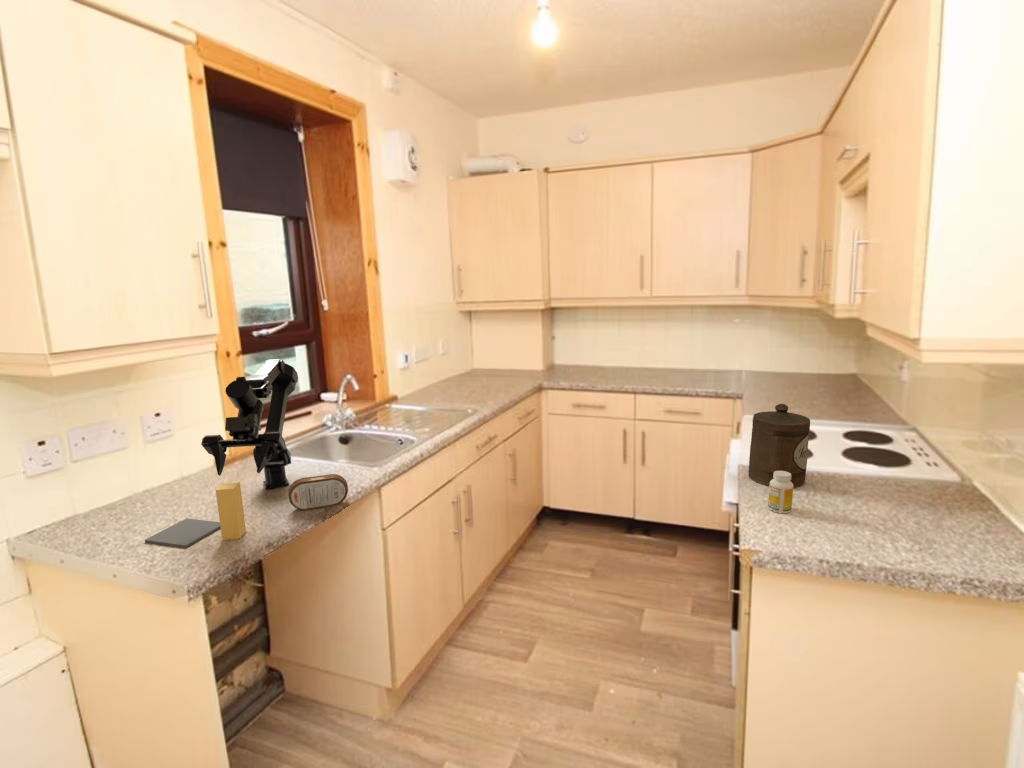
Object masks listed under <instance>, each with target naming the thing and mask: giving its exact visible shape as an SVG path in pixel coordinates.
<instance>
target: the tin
mask: <svg viewBox="0 0 1024 768" xmlns="http://www.w3.org/2000/svg"><path fill="white" fill-rule="evenodd" d="M348 494H349V486H348V482H347V480H346V479H345V478H344V477H343V476H341V474H340V475H339V474H336V473H331V474H329V473H328V474H322V475H316V476H314V475H313V476H307V477H300V478H298V479H296V480H295V481H293V482H291V485H290V486H289V488H288V493H287V495H288V500H289V504H290V505H291V506H292V507H294V508H295V509H296V510H300V511H307V510H314V509H320V508H321V509H322V508H328V507H329V508H330V507H334V506H335V507H336V506H338V505H339V504H342V503H343V502H344V501H345V500H346V498H347V496H348Z"/></svg>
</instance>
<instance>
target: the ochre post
mask: <svg viewBox="0 0 1024 768" xmlns="http://www.w3.org/2000/svg"><path fill="white" fill-rule="evenodd" d="M215 495H216V503H217V511H218V518H219V519H218V520H219V522H220V527H221V528H220V534H221V539H222V541H226V540H227V541H228V540H229V539H230V540H239V539H238V538H240V539H241V538H242V537H243V536H244V534H245V533H246V532H247V528H246V520H245V514H244V513H245V512H244V511H245V510H244V504H243V496H242V487H241V482H240V481H239V482H224V483H221V484H220V485H219V486H218V487H217V488H216V489H215ZM242 535H243V536H242ZM241 536H242V537H241Z"/></svg>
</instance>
